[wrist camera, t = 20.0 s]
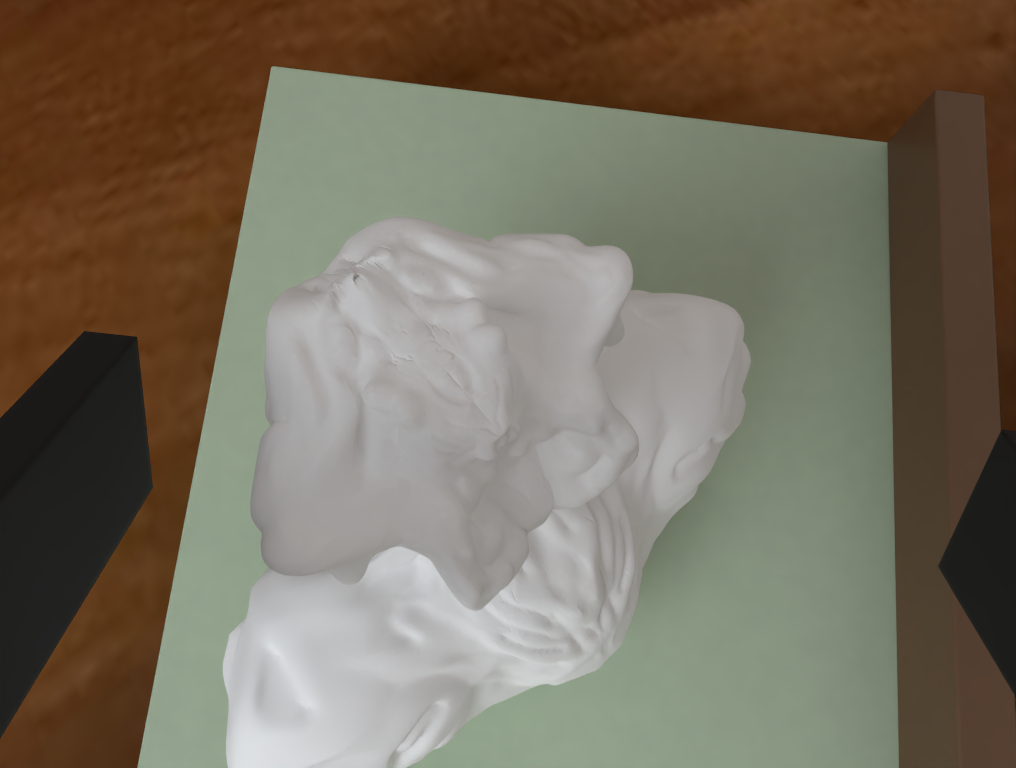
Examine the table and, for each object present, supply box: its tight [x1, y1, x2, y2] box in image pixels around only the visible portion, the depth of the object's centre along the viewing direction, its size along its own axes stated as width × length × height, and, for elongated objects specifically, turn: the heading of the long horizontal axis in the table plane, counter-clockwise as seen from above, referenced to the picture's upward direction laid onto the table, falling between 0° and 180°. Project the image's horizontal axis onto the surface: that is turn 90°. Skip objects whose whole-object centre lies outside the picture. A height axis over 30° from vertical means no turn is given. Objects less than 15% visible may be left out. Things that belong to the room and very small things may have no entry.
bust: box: [223, 217, 751, 768], centre depth 15 cm, size 12×8×11 cm
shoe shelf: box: [137, 66, 1016, 768], centre depth 21 cm, size 17×22×7 cm
